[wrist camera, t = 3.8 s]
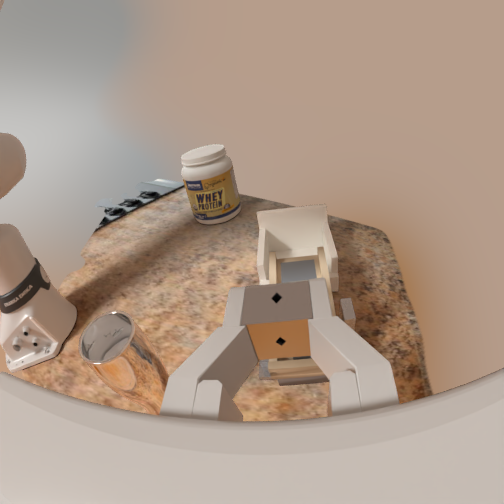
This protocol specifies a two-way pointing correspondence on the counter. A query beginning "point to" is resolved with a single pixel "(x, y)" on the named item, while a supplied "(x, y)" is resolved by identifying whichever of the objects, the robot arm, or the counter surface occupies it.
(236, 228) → the counter surface
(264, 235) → the cream open-top tray
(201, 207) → the supplement tub
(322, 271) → the lever
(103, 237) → the counter surface
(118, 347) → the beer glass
